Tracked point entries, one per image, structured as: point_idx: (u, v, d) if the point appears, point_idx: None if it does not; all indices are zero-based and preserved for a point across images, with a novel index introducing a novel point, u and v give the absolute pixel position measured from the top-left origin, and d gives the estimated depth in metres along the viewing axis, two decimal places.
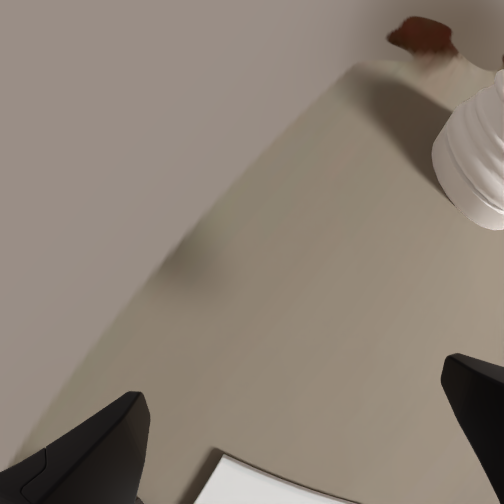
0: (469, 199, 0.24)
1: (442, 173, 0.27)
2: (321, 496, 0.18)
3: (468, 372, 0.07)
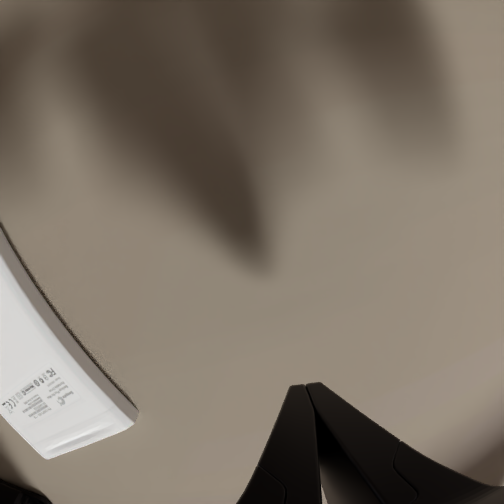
0: None
1: None
2: (62, 346, 0.11)
3: (313, 408, 0.07)
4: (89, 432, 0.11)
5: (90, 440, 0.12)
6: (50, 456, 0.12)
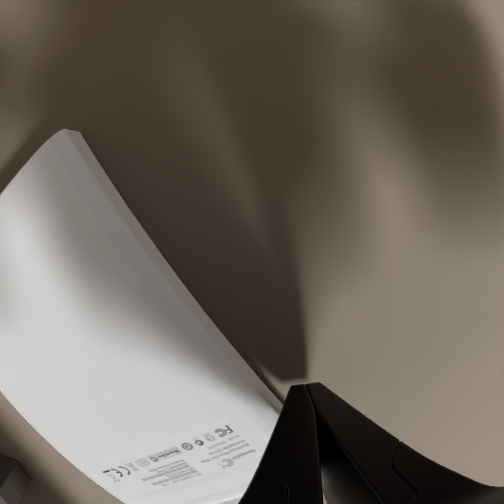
0: None
1: None
2: (257, 392, 0.08)
3: (312, 409, 0.07)
4: None
5: None
6: None
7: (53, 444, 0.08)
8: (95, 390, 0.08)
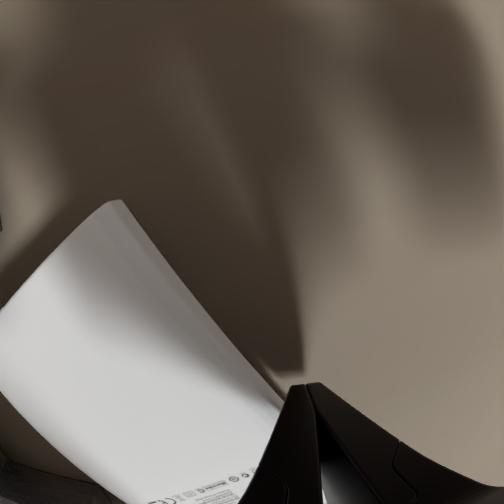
0: None
1: None
2: None
3: (313, 408, 0.07)
4: None
5: None
6: None
7: (99, 482, 0.09)
8: (149, 439, 0.08)
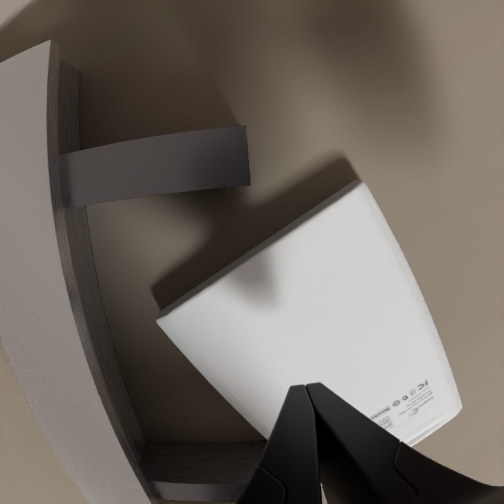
0: None
1: None
2: (445, 354, 0.11)
3: (313, 408, 0.07)
4: (420, 433, 0.12)
5: (415, 442, 0.12)
6: None
7: None
8: (350, 373, 0.11)
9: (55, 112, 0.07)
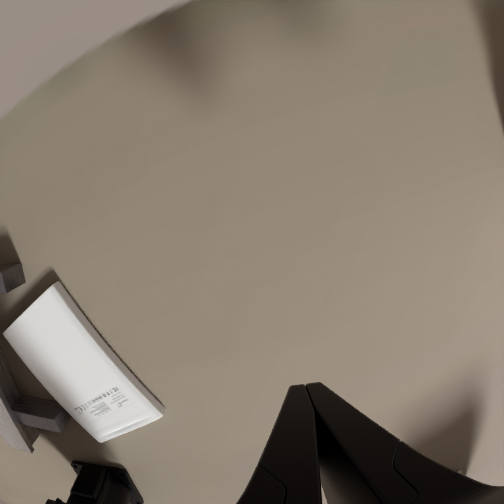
0: None
1: None
2: (124, 375, 0.20)
3: (313, 408, 0.07)
4: (135, 422, 0.21)
5: (135, 427, 0.21)
6: (104, 440, 0.22)
7: (54, 396, 0.21)
8: (71, 371, 0.20)
9: None
